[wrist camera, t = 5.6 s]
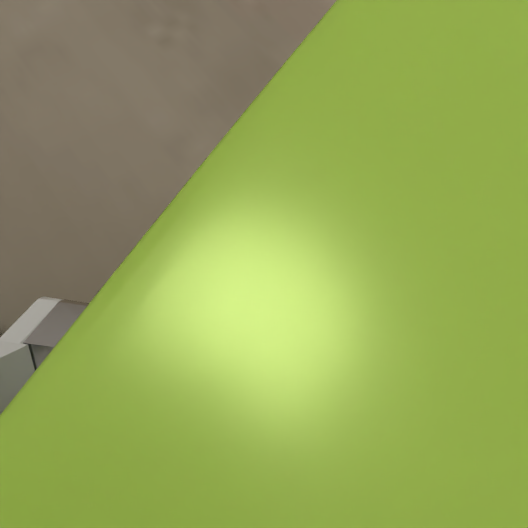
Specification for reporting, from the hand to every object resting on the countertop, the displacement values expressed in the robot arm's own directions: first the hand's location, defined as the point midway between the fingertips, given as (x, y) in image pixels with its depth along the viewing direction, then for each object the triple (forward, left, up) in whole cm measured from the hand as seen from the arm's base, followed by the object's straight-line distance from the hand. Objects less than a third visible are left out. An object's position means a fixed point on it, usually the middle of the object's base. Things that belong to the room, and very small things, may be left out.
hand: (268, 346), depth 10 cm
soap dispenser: (0, 0, -11) cm, 11 cm away
